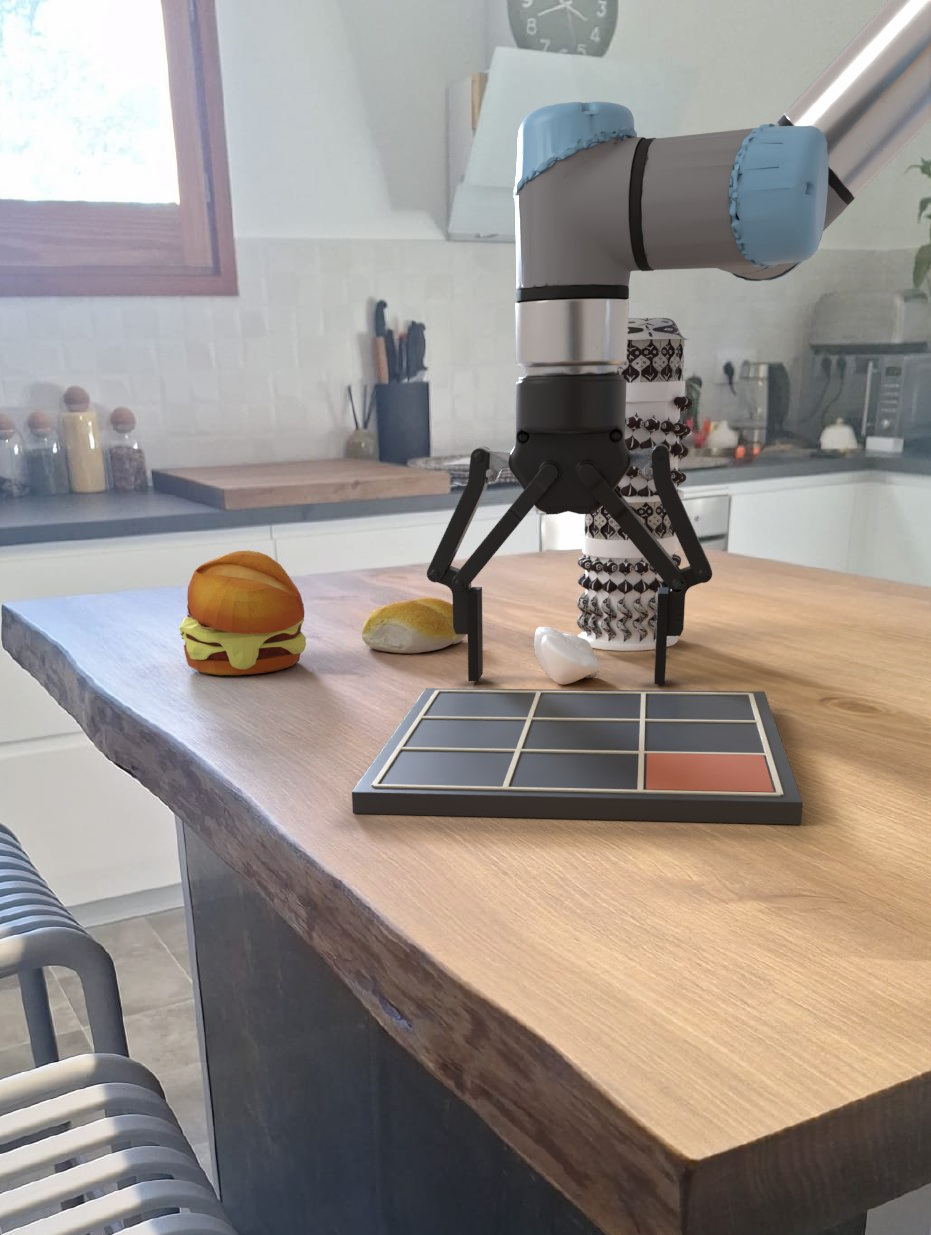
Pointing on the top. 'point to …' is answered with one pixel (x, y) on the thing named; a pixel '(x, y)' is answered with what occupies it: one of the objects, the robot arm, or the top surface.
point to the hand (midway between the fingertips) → (566, 679)
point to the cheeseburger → (242, 616)
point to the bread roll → (411, 626)
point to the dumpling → (565, 656)
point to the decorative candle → (637, 497)
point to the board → (585, 757)
